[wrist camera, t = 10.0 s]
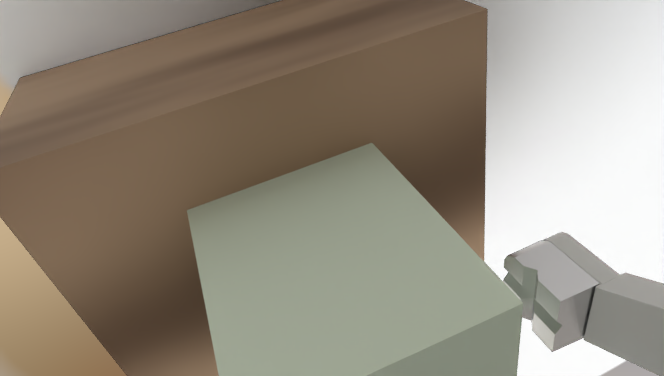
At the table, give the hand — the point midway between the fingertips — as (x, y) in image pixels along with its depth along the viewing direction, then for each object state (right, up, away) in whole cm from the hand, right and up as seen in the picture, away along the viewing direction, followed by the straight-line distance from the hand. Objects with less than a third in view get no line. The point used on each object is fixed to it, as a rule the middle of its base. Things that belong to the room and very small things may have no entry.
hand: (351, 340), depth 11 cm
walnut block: (-3, +5, +7) cm, 10 cm away
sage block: (-1, +2, +3) cm, 4 cm away
